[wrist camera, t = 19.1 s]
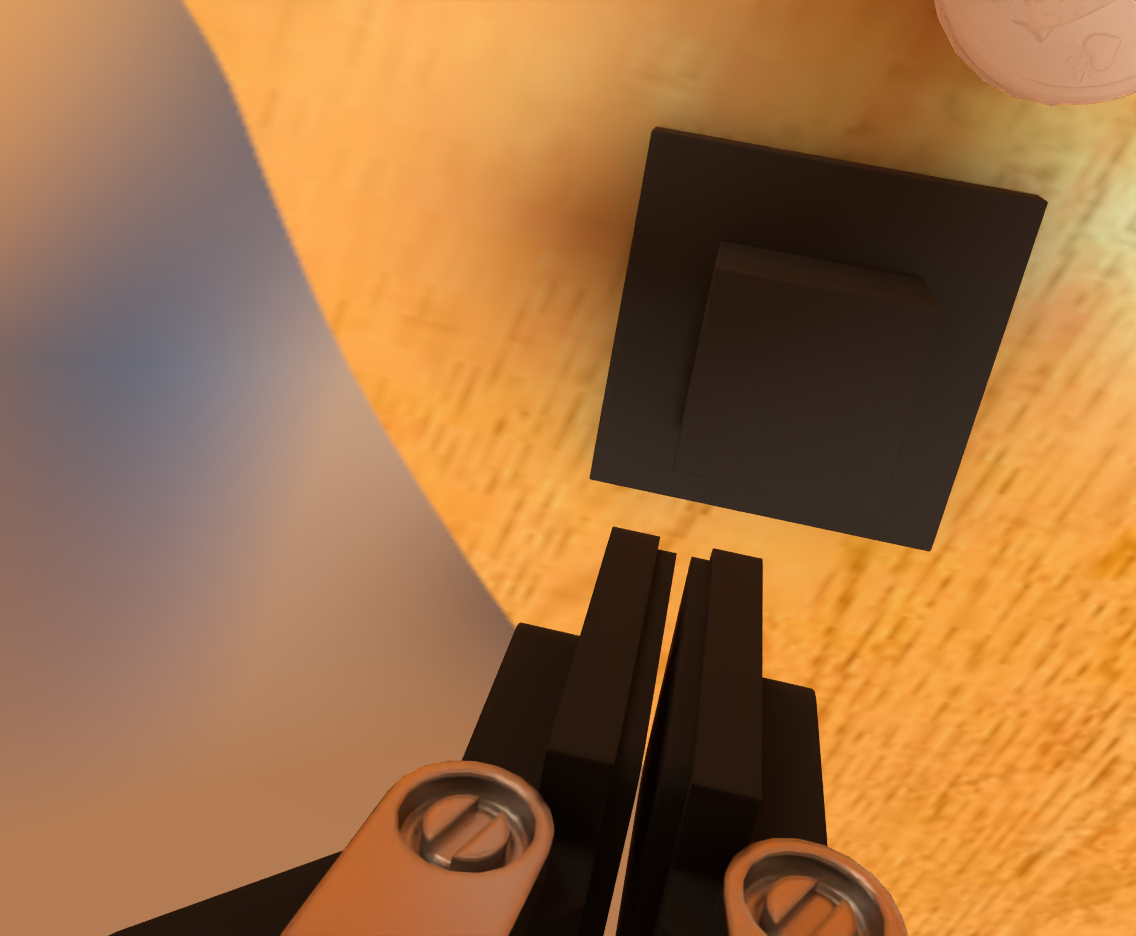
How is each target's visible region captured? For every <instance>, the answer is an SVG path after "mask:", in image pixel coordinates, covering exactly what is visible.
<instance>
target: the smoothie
mask: <svg viewBox="0 0 1136 936" xmlns="http://www.w3.org/2000/svg"><path fill="white" fill-rule="evenodd" d="M934 2H935V7H936V12H937V17H938V20H939V22H940V24H941V26H942V28H943V30H944V32H945V34H946V35H947V37H948V39H949V41H950V43H951V45H952V47H953V49H954V51H955V53H956V54H957V55H958V56H959V57H960V58H961V59H962V60H963V61H964V62H965V63H966V64H967V65H968V66H969V67H970V68H971V69H972V70H973V71H974V72H975V74H976V75H977V76H978V77H979V78H980V79H981V80H983V81H985V82H987V83H989V84H990V85H992V86H994V87H996V88H998V89H1000V90H1001V91H1003V92H1005V93H1007V94H1009V95H1010V96H1012V97H1015V98H1019V99H1024V100H1028V101H1033V102H1038V103H1042V104H1047V105H1076V104H1092V103H1099V102H1105V101H1109V100H1114V99H1118V98H1121V97H1124V96H1127V95H1130V94H1133V93H1136V0H934Z"/></svg>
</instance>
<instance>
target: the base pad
mask: <svg viewBox="0 0 1136 936" xmlns="http://www.w3.org/2000/svg"><path fill="white" fill-rule="evenodd" d="M1047 204H1048V201H1046V200H1044V199H1043V198H1041V197H1040V196H1038V195H1034V194H1028V193H1022V192H1017V191H1011V190H1006V189H1000V188H995V187H989V186H984V185H978V184H972V183H967V182H961V181H956V180H950V179H945V178H939V177H934V176H928V175H922V174H917V173H911V172H906V171H900V170H895V169H889V168H884V167H878V166H872V165H867V164H861V163H856V162H850V161H845V160H839V159H833V158H828V157H822V156H817V155H811V154H806V153H800V152H795V151H789V150H783V149H778V148H772V147H767V146H761V145H756V144H750V143H745V142H739V141H733V140H728V139H722V138H717V137H711V136H706V135H700V134H695V133H689V132H683V131H678V130H672V129H667V128H661V127H655V128H654V129H653V130H652V132H651V138H650V143H649V149H648V154H647V160H646V166H645V171H644V177H643V182H642V188H641V194H640V199H639V205H638V210H637V216H636V222H635V227H634V233H633V238H632V244H631V250H630V255H629V261H628V266H627V272H626V278H625V283H624V289H623V294H622V300H621V305H620V311H619V317H618V322H617V328H616V333H615V339H614V345H613V350H612V356H611V361H610V367H609V373H608V378H607V384H606V389H605V395H604V401H603V406H602V412H601V417H600V423H599V429H598V434H597V440H596V445H595V451H594V456H593V462H592V468H591V473H590V479H591V480H596V481H601V482H605V483H610V484H615V485H619V486H624V487H629V488H633V489H638V490H643V491H648V492H652V493H657V494H662V495H666V496H671V497H676V498H680V499H685V500H690V501H695V502H699V503H704V504H709V505H713V506H718V507H723V508H727V509H732V510H737V511H742V512H746V513H751V514H756V515H760V516H765V517H770V518H775V519H779V520H784V521H789V522H793V523H798V524H803V525H807V526H812V527H817V528H822V529H826V530H831V531H836V532H840V533H845V534H850V535H854V536H859V537H864V538H869V539H873V540H878V541H883V542H887V543H892V544H897V545H901V546H906V547H911V548H916V549H920V550H925V551H931V549H932V546H933V543H934V540H935V537H936V534H937V531H938V528H939V525H940V522H941V519H942V516H943V513H944V510H945V507H946V504H947V501H948V498H949V495H950V492H951V489H952V486H953V483H954V480H955V477H956V474H957V471H958V468H959V465H960V462H961V459H962V456H963V454H964V451H965V448H966V445H967V442H968V439H969V436H970V433H971V430H972V427H973V424H974V421H975V418H976V415H977V412H978V409H979V406H980V403H981V400H982V397H983V394H984V391H985V388H986V385H987V382H988V379H989V376H990V373H991V370H992V367H993V364H994V361H995V358H996V355H997V352H998V349H999V346H1000V343H1001V340H1002V338H1003V335H1004V332H1005V329H1006V326H1007V323H1008V320H1009V317H1010V314H1011V311H1012V308H1013V305H1014V302H1015V299H1016V296H1017V293H1018V290H1019V287H1020V284H1021V281H1022V278H1023V275H1024V272H1025V269H1026V266H1027V263H1028V260H1029V257H1030V254H1031V251H1032V248H1033V245H1034V242H1035V239H1036V236H1037V233H1038V230H1039V227H1040V224H1041V222H1042V219H1043V216H1044V213H1045V210H1046V207H1047ZM721 241H725V242H730V243H736V244H741V245H746V246H752V247H757V248H762V249H767V250H773V251H778V252H783V253H789V254H794V255H799V256H804V257H810V258H815V259H820V260H826V261H831V262H836V263H842V264H847V265H852V266H857V267H863V268H868V269H873V270H879V271H884V272H889V273H894V274H900V275H905V276H910V277H916V278H921V279H923V280H924V281H925V283H926V284H927V286H928V288H929V289H930V291H931V292H932V294H933V296H934V297H935V299H936V301H937V303H938V304H939V306H940V308H941V309H942V311H943V313H942V317H941V320H940V323H939V326H938V330H937V333H936V336H935V339H934V343H933V346H932V349H931V352H930V356H929V359H928V362H927V365H926V369H925V372H924V375H923V378H922V381H921V385H920V388H919V391H918V394H917V398H916V401H915V404H914V407H913V411H912V414H911V417H910V420H909V424H908V427H907V430H906V433H905V437H904V440H903V443H902V446H901V450H900V453H899V456H898V459H897V462H896V466H895V469H894V472H893V475H892V479H891V482H890V485H889V488H888V492H887V495H886V498H885V501H884V505H883V508H882V511H881V513H880V514H877V513H873V512H868V511H863V510H858V509H854V508H849V507H844V506H839V505H835V504H830V503H825V502H820V501H816V500H811V499H806V498H801V497H797V496H792V495H787V494H782V493H778V492H773V491H768V490H763V489H759V488H754V487H749V486H744V485H740V484H735V483H730V482H725V481H721V480H716V479H711V478H706V477H702V476H697V475H692V474H687V473H682V472H678V471H674V470H673V469H672V467H673V462H674V457H675V452H676V447H677V442H678V438H679V433H680V428H681V423H682V418H683V414H684V409H685V404H686V400H687V395H688V390H689V385H690V381H691V376H692V371H693V367H694V362H695V357H696V353H697V348H698V343H699V339H700V334H701V329H702V325H703V320H704V315H705V310H706V306H707V301H708V296H709V292H710V287H711V282H712V278H713V273H714V268H715V264H716V259H717V254H718V250H719V245H720V242H721Z"/></svg>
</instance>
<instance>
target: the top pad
mask: <svg viewBox="0 0 1136 936" xmlns="http://www.w3.org/2000/svg"><path fill="white" fill-rule="evenodd" d="M942 313H943V311H942V309H941V308H940V306H939V304H938V303H937V301H936V299H935V297H934V296H933V294H932V292H931V291H930V289H929V288H928V286H927V284H926V283H925V281H924V280H923V279H921V278H916V277H910V276H905V275H900V274H894V273H889V272H884V271H879V270H873V269H868V268H863V267H857V266H852V265H847V264H842V263H836V262H831V261H826V260H820V259H815V258H810V257H804V256H799V255H794V254H789V253H783V252H778V251H773V250H767V249H762V248H757V247H752V246H746V245H741V244H736V243H730V242H725V241H721V242H720V245H719V250H718V254H717V259H716V264H715V268H714V273H713V278H712V282H711V287H710V292H709V296H708V301H707V306H706V310H705V315H704V320H703V325H702V329H701V334H700V339H699V343H698V348H697V353H696V357H695V362H694V367H693V371H692V376H691V381H690V385H689V390H688V395H687V400H686V404H685V409H684V414H683V418H682V423H681V428H680V433H679V438H678V442H677V447H676V452H675V457H674V462H673V467H672V469H673V470H674V471H678V472H682V473H687V474H692V475H697V476H702V477H706V478H711V479H716V480H721V481H725V482H730V483H735V484H740V485H744V486H749V487H754V488H759V489H763V490H768V491H773V492H778V493H782V494H787V495H792V496H797V497H801V498H806V499H811V500H816V501H820V502H825V503H830V504H835V505H839V506H844V507H849V508H854V509H858V510H863V511H868V512H873V513H877V514H880V513H881V511H882V508H883V505H884V501H885V498H886V495H887V492H888V488H889V485H890V482H891V479H892V475H893V472H894V469H895V466H896V462H897V459H898V456H899V453H900V450H901V446H902V443H903V440H904V437H905V433H906V430H907V427H908V424H909V420H910V417H911V414H912V411H913V407H914V404H915V401H916V398H917V394H918V391H919V388H920V385H921V381H922V378H923V375H924V372H925V369H926V365H927V362H928V359H929V356H930V352H931V349H932V346H933V343H934V339H935V336H936V333H937V330H938V326H939V323H940V320H941V317H942Z"/></svg>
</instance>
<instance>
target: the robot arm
mask: <svg viewBox="0 0 1136 936" xmlns="http://www.w3.org/2000/svg"><path fill="white" fill-rule="evenodd" d="M659 540H660V537H659V536H654V535H650V534H645V533H640V532H636V531H631V530H627V529H622V528H617V527H613V528H612V531H611V534H610V537H609V541H608V544H607V547H606V551H605V554H604V558H603V561H602V564H601V568H600V571H599V574H598V578H597V581H596V584H595V588H594V591H593V594H592V598H591V601H590V604H589V608H588V611H587V614H586V618H585V621H584V624H583V628H582V631H581V635H580V636H578V635H574V634H569V633H565V632H560V631H556V630H552V629H547V628H543V627H538V626H534V625H529V624H525V623H519V624H518V625H517V627H516V629H515V632H514V634H513V636H512V639H511V641H510V644H509V646H508V649H507V651H506V654H505V656H504V658H503V662H502V663H501V666H500V668H499V671H498V673H497V676H496V678H495V681H494V683H493V685H492V688H491V690H490V693H489V695H488V698H487V700H486V703H485V705H484V707H483V710H482V713H481V715H480V717H479V720H478V722H477V725H476V727H475V729H474V732H473V735H472V737H471V739H470V742H469V744H468V747H467V749H466V751H465V754H464V757H463V759H462V761H445V762H440V763H435V764H430V765H425V766H423V767H421V768H419V769H417V770H415V771H413V772H411V773H408V774H407V775H404V776H403V777H402V778H401V779H400V780H399V781H398V782H397V783H395V785H393V786H392V787H391V788H390V789H389V790H388V791H387V793H386V794H385V795H384V797H383V798H382V799H381V801H380V802H379V803H378V805H377V806H376V807H375V809H374V810H373V811H372V813H371V814H370V815H369V817H368V818H367V819H366V821H365V822H364V823H363V825H362V826H361V827H360V829H359V830H358V831H357V833H356V834H355V835H354V837H353V838H352V839H351V841H350V842H349V844H348V845H347V846H346V847H345V849H344V850H343V851H340V852H338V853H335V854H332V855H329V856H326V857H324V858H321V859H318V860H315V861H313V862H310V863H307V864H304V865H301V866H299V867H296V868H294V869H291V870H288V871H285V872H282V873H279V874H277V875H273V876H271V877H268V878H265V879H262V880H260V881H257V882H254V883H251V884H248V885H246V886H243V887H240V888H237V889H235V890H232V891H229V892H226V893H223V894H220V895H218V896H215V897H212V898H210V899H207V900H204V901H201V902H198V903H196V904H193V905H190V906H187V907H184V908H182V909H179V910H176V911H173V912H170V913H167V914H165V915H162V916H159V917H156V918H154V919H151V920H148V921H145V922H143V923H140V924H137V925H134V926H131V927H128V928H126V929H123V930H120V931H118V932H115V933H113V934H111V935H109V936H603V935H604V931H605V926H606V922H607V917H608V913H609V908H610V905H611V900H612V896H613V892H614V887H615V882H616V878H617V874H618V870H619V865H620V861H621V857H622V852H623V848H624V844H625V839H626V835H627V831H628V826H629V822H630V818H631V813H632V809H633V805H634V800H635V796H636V790H637V785H638V781H639V776H640V771H641V766H642V761H643V755H644V750H645V744H646V738H647V731H648V725H649V719H650V713H651V707H652V701H653V695H654V689H655V683H656V676H657V670H658V664H659V658H660V652H661V646H662V640H663V634H664V628H665V622H666V615H667V609H668V603H669V597H670V591H671V585H672V579H673V573H674V567H675V560H676V554H677V553H672V552H668V551H663V550H659V549H658V545H659ZM762 598H763V562H762V559H760V558H756V557H751V556H747V555H742V554H737V553H733V552H728V551H724V550H719V549H714V548H713V550H712V553H711V557H710V561H709V560H705V559H700V558H695V557H692V558H691V561H690V565H689V569H688V574H687V578H686V582H685V587H684V591H683V595H682V600H681V604H680V608H679V613H678V617H677V621H676V626H675V630H674V634H673V639H672V643H671V647H670V652H669V656H668V660H667V665H666V669H665V673H664V678H663V682H662V686H661V691H660V695H659V699H658V704H657V708H656V712H655V717H654V721H653V725H652V730H651V734H650V738H649V743H648V747H647V752H646V756H645V761H644V766H643V771H642V777H641V782H640V788H639V794H638V801H637V806H636V813H635V819H634V825H633V832H632V838H631V843H630V850H629V856H628V862H627V868H626V875H625V880H624V887H623V893H622V899H621V906H620V912H619V917H618V924H617V930H616V936H908V933H907V930H906V927H905V924H904V921H903V918H902V915H901V914H900V912H899V910H898V908H897V906H896V904H895V902H894V900H893V898H892V896H891V894H890V893H889V892H888V891H887V890H886V889H885V887H884V886H883V885H882V884H881V883H880V882H879V881H878V880H877V878H876V877H875V876H874V875H873V874H872V873H871V872H869V871H868V870H866V869H865V868H864V867H862V866H861V865H860V864H858V863H857V862H856V861H854V860H853V859H851V858H850V857H848V856H846V855H844V854H842V853H840V852H838V851H836V850H833V849H831V848H829V847H828V846H827V833H826V820H825V807H824V794H823V781H822V768H821V755H820V742H819V729H818V716H817V703H816V696H815V691H814V690H813V689H811V688H807V687H803V686H798V685H794V684H789V683H785V682H781V681H776V680H772V679H767V678H763V677H762Z"/></svg>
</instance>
